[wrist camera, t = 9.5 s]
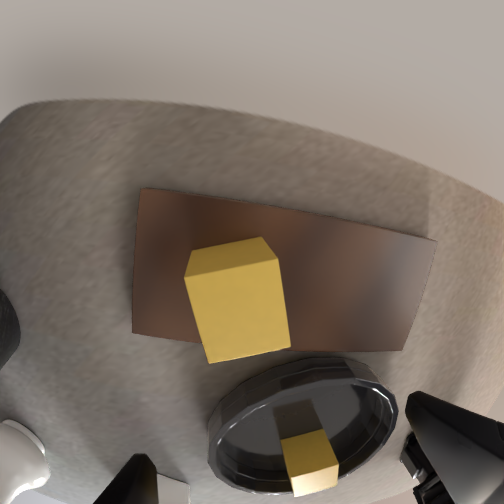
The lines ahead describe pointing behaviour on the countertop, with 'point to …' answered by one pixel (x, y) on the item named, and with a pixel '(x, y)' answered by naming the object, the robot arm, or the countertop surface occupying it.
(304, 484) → the cheese back
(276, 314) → the cheese front
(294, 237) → the board
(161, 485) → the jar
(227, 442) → the pan
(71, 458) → the countertop surface
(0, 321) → the travel mug
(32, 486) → the flower vase
